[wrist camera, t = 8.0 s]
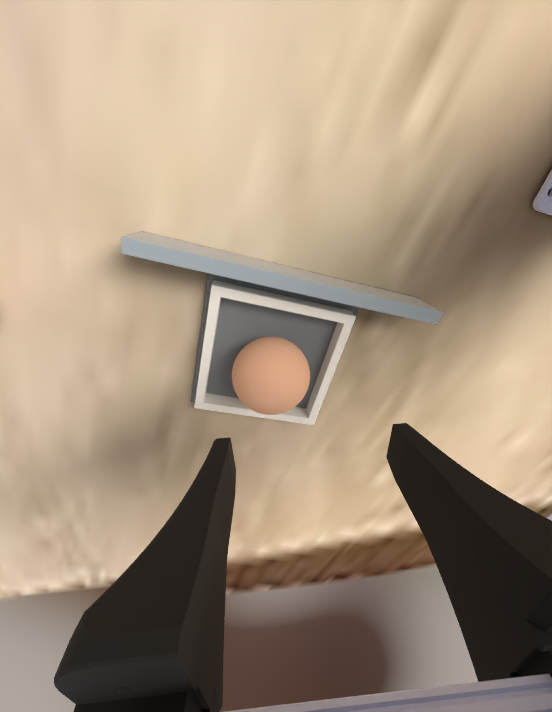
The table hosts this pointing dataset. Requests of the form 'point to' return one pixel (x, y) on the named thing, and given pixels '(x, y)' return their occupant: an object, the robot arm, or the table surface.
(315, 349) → the white square tray
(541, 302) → the table surface
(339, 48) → the table surface
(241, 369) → the ball
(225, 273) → the low wall
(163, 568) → the robot arm
